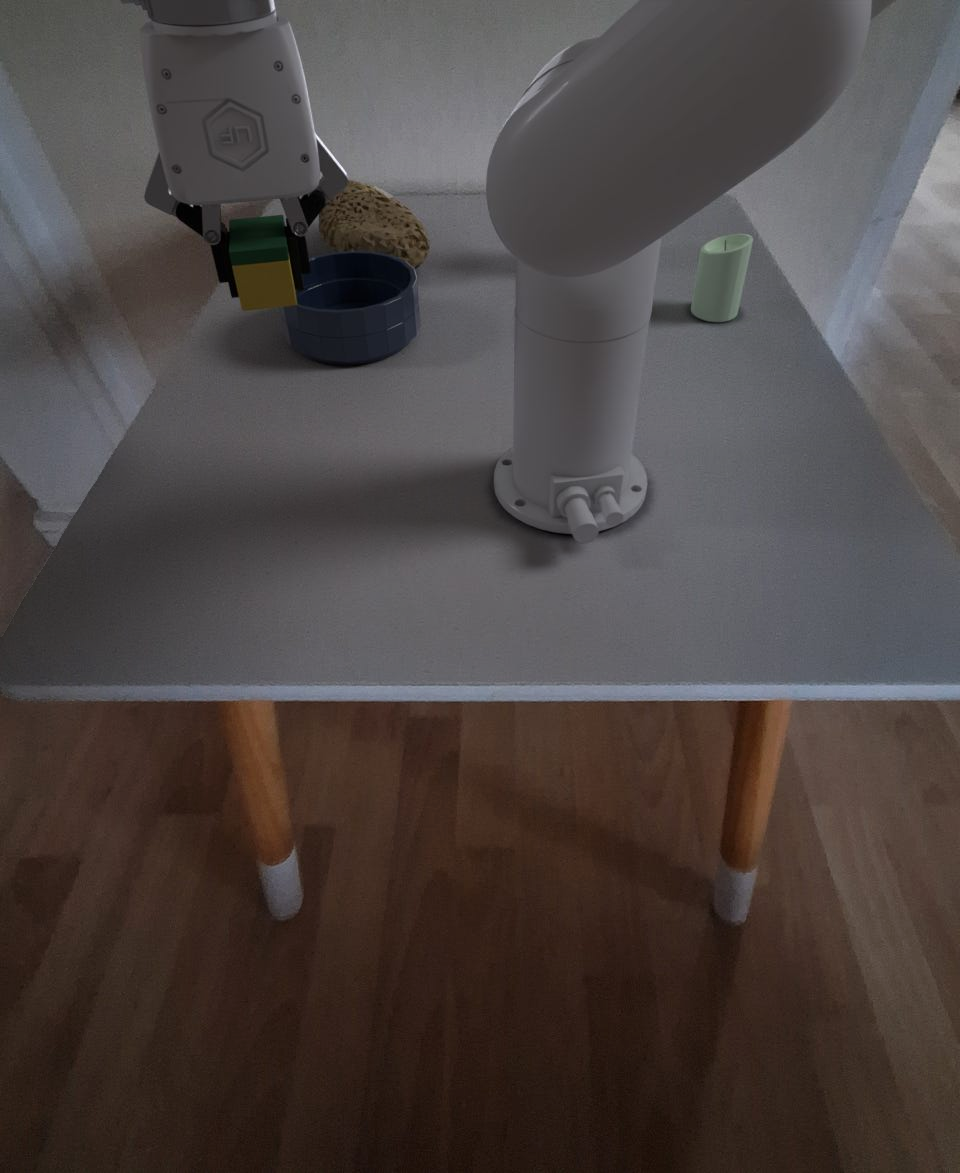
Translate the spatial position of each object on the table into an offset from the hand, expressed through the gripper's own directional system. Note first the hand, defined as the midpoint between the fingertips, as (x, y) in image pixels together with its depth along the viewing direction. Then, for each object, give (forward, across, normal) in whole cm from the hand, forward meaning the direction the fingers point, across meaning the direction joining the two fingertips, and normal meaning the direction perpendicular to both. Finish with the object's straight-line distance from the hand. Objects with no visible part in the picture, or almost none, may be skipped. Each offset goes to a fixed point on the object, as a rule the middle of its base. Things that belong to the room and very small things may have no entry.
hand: (267, 284), depth 64 cm
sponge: (+15, +12, +40) cm, 45 cm away
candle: (+15, +46, +16) cm, 51 cm away
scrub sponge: (0, 0, 0) cm, 0 cm away
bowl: (+15, +7, +20) cm, 26 cm away
